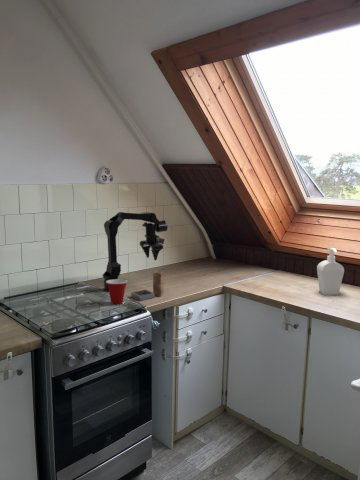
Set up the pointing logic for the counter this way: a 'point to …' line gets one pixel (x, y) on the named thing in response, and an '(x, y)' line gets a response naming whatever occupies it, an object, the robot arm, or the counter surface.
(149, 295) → the tray
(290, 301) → the counter surface
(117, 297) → the plastic cup
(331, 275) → the soap bottle
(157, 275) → the walnut block
